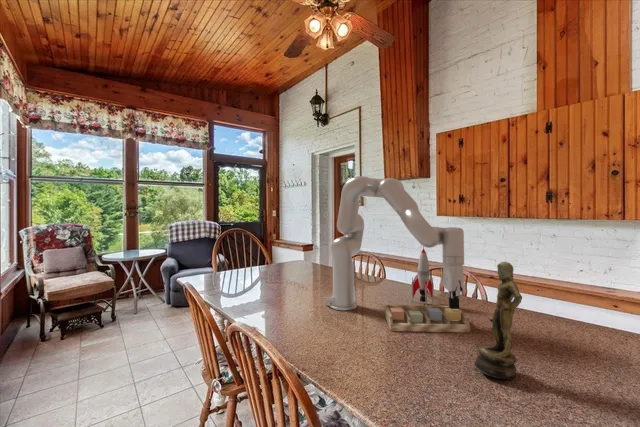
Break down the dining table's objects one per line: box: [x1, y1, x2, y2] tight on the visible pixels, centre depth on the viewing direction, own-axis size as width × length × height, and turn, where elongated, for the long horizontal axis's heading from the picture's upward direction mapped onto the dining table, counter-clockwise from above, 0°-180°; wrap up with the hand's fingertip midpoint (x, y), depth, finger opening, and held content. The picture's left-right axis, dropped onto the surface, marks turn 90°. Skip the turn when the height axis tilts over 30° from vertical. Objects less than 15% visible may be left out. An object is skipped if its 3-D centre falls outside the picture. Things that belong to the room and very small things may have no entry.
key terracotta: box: [390, 308, 404, 319], centre depth 119 cm, size 4×4×3 cm
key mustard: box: [445, 308, 461, 320], centre depth 117 cm, size 4×4×3 cm
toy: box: [411, 245, 434, 306], centre depth 141 cm, size 10×9×30 cm
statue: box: [474, 261, 523, 380], centre depth 82 cm, size 11×11×30 cm
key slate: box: [427, 308, 442, 320], centre depth 118 cm, size 4×4×3 cm
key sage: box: [408, 311, 423, 323], centre depth 118 cm, size 4×4×3 cm
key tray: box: [384, 304, 471, 333], centre depth 118 cm, size 28×14×5 cm, turn 86°
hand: (454, 308), depth 117 cm, fingers closed
